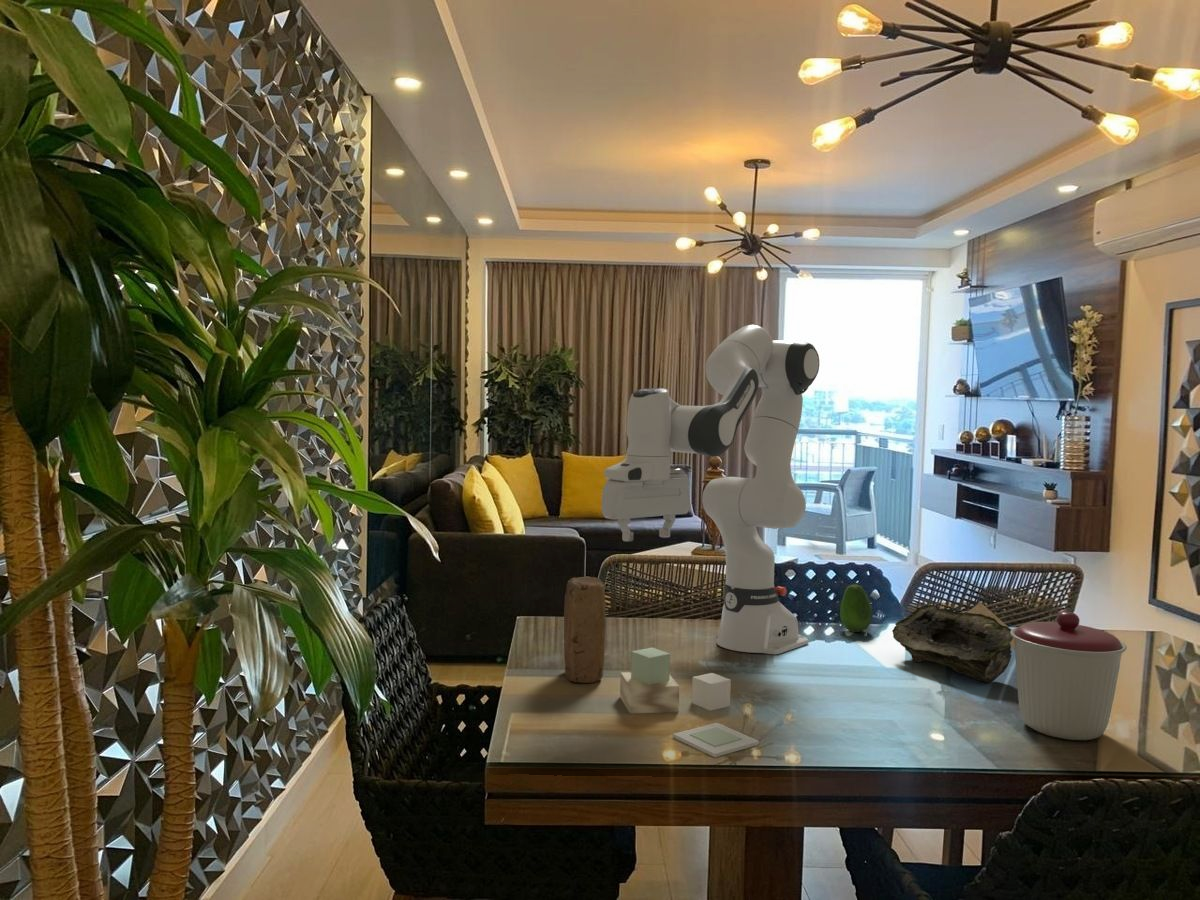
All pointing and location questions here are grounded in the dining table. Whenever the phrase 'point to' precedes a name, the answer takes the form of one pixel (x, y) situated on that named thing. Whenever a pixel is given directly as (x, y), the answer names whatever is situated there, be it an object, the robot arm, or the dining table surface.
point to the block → (584, 629)
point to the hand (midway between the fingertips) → (646, 539)
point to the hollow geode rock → (956, 641)
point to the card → (715, 739)
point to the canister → (1066, 676)
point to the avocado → (855, 609)
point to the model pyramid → (985, 611)
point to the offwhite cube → (711, 691)
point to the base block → (649, 695)
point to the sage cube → (650, 666)
